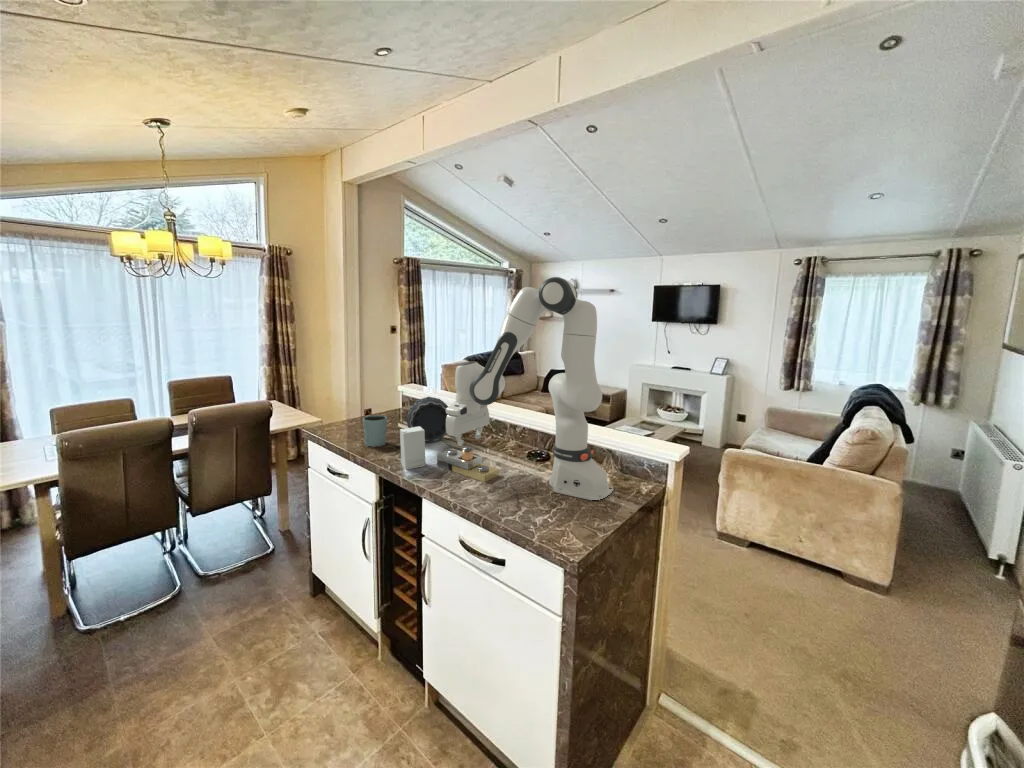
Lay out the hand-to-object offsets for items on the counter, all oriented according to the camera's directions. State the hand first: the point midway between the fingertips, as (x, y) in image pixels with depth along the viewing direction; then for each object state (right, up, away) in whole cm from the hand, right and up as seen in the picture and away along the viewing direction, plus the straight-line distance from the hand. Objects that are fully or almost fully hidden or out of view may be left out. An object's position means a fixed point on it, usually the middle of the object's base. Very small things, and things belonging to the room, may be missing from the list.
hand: (469, 441), depth 164 cm
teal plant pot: (-44, -5, +30) cm, 54 cm away
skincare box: (-22, -10, +5) cm, 25 cm away
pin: (-1, -11, +2) cm, 11 cm away
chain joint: (-1, -11, +2) cm, 11 cm away
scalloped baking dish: (-22, -5, +37) cm, 43 cm away
